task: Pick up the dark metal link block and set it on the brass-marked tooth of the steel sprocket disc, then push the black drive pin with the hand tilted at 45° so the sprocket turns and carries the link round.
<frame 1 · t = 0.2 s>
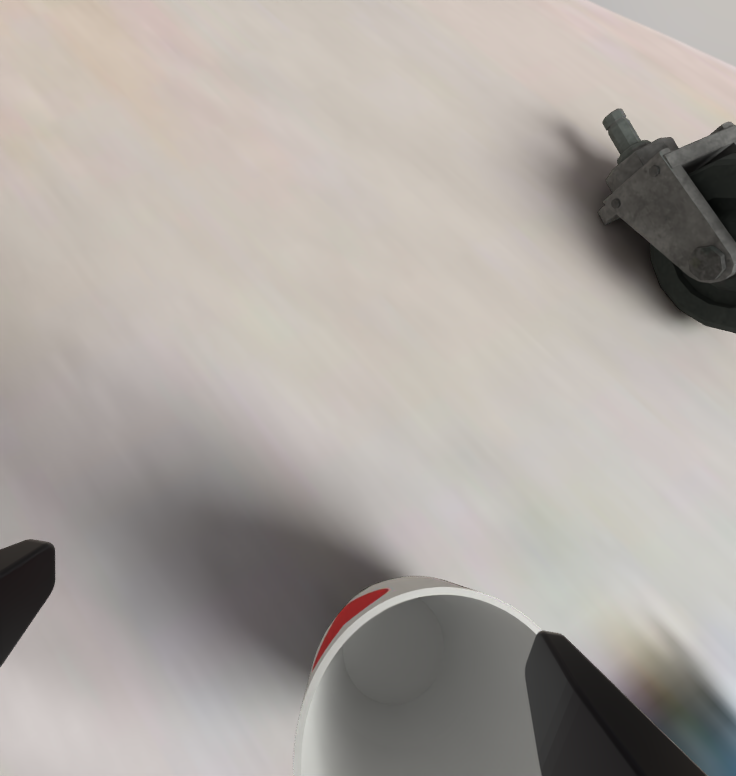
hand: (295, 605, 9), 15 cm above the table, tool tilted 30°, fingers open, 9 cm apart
cup: (393, 645, 22), on the table
caster wheel: (649, 245, 29), on the table
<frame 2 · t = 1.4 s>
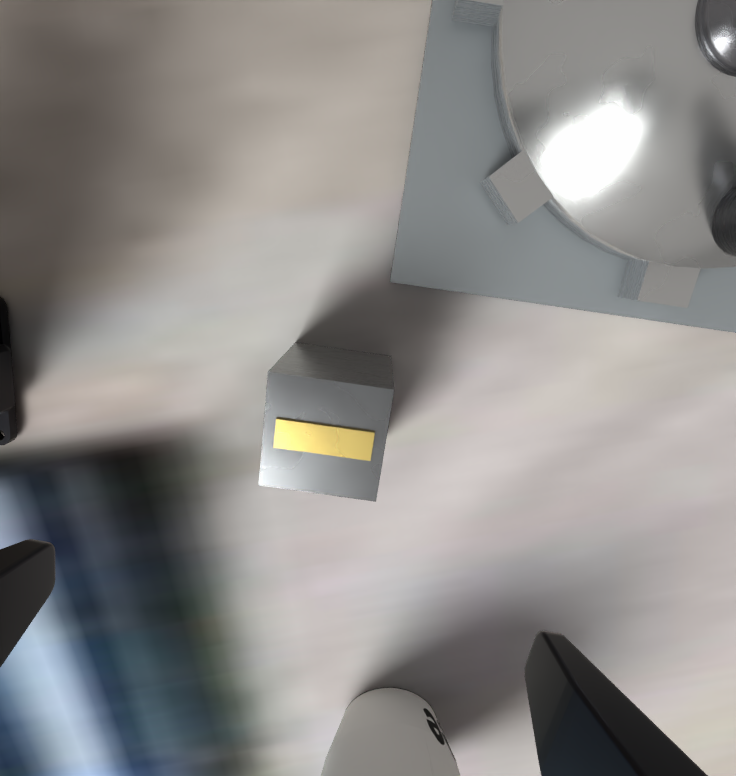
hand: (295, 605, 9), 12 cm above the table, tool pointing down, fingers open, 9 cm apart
cup: (388, 720, 25), on the table
link block: (337, 394, 20), on the table
base plate: (705, 41, 16), on the table
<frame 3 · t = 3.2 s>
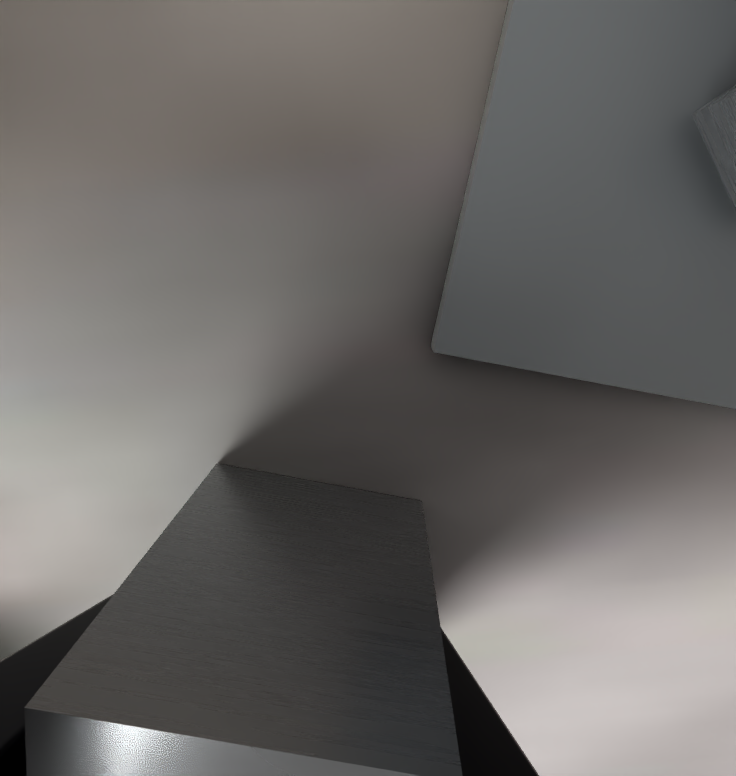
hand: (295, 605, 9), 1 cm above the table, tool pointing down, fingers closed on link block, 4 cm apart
link block: (304, 568, 10), on the table, touching gripper
when the fingers open (5 cm above the table, at t = 6.8 s): link block drops 1 cm, resting on sprocket.
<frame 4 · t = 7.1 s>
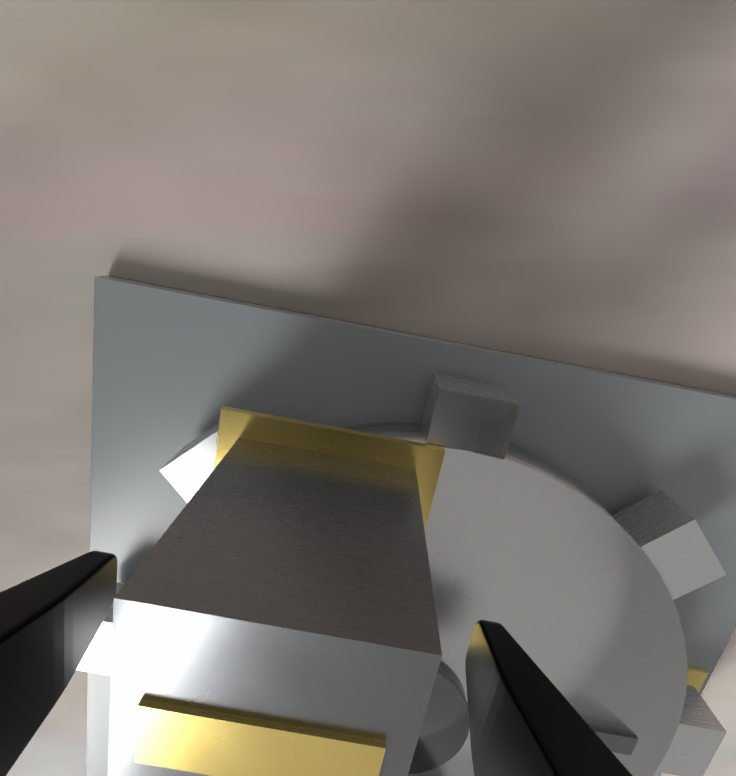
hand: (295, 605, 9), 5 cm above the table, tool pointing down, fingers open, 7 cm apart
link block: (314, 530, 11), point 2 cm above the table, touching sprocket
base plate: (396, 635, 15), on the table
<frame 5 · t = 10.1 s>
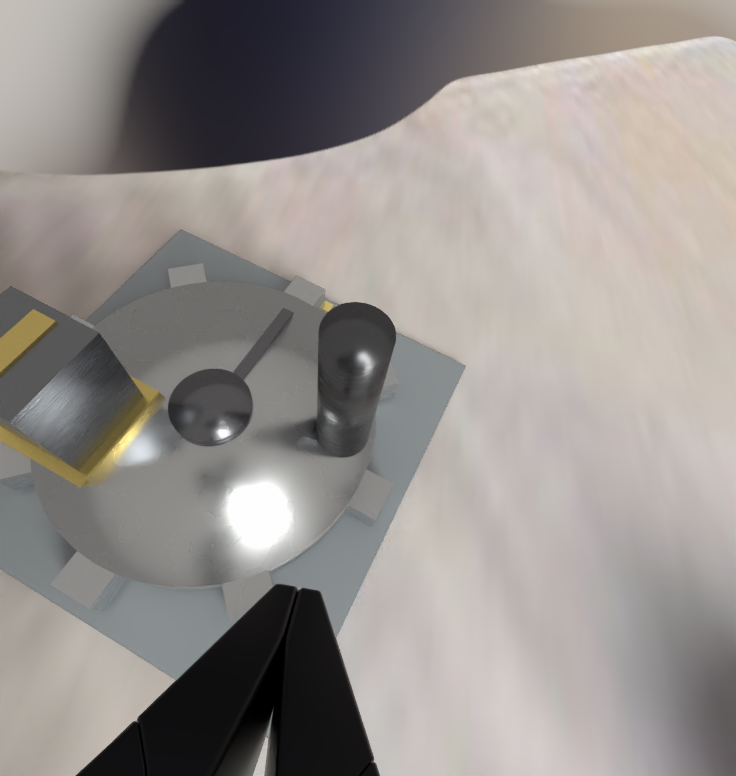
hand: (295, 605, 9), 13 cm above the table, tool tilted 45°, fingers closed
link block: (75, 411, 20), point 2 cm above the table, touching sprocket
sprocket: (197, 374, 18), point 6 cm above the table, hinge at 0.0°, touching link block
base plate: (221, 429, 23), on the table
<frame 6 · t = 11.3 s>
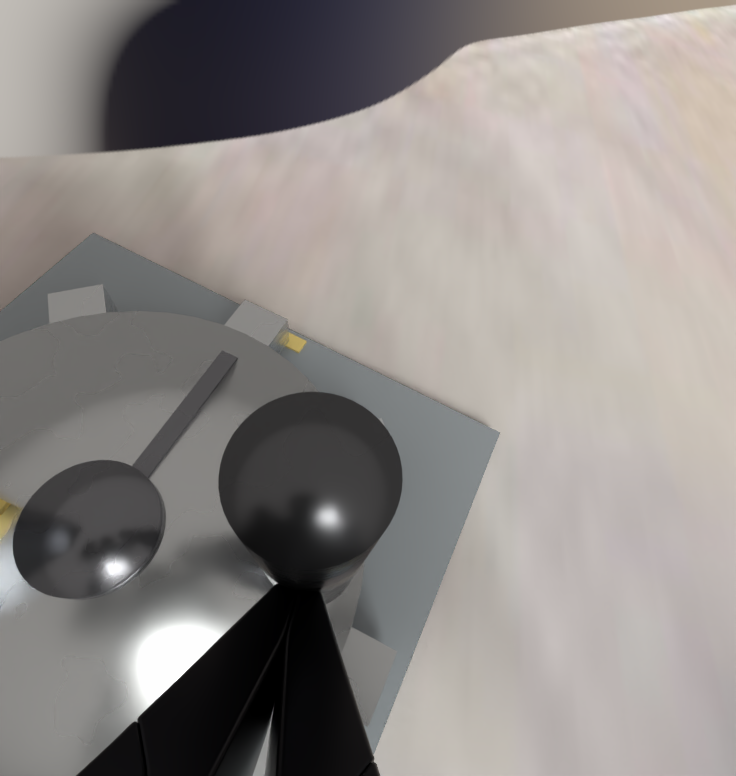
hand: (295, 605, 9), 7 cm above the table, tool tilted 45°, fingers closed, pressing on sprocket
sprocket: (37, 498, 10), point 6 cm above the table, hinge at 1.3°, touching gripper, link block
base plate: (126, 543, 15), on the table
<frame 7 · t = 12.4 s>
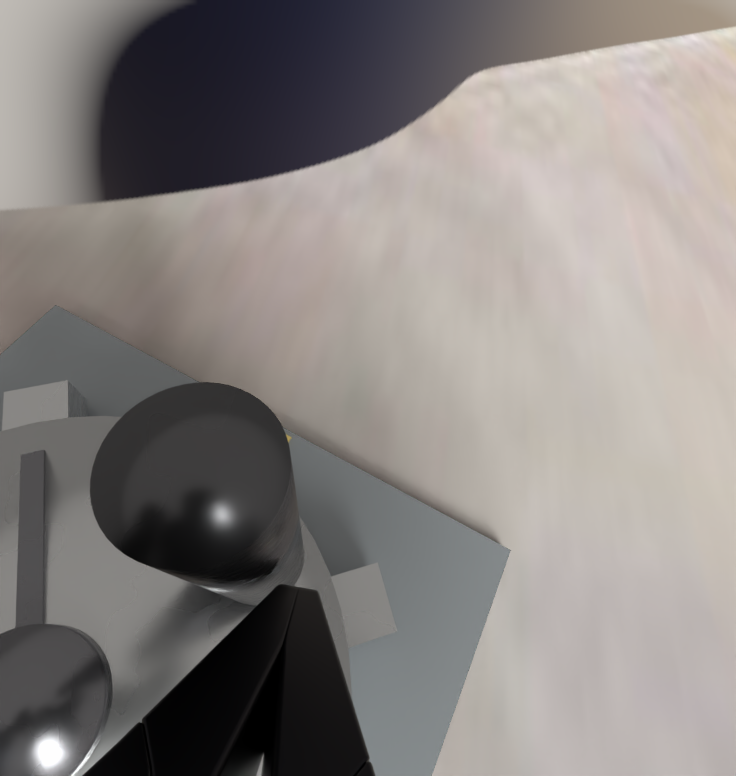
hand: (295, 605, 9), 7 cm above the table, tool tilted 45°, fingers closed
base plate: (74, 698, 13), on the table
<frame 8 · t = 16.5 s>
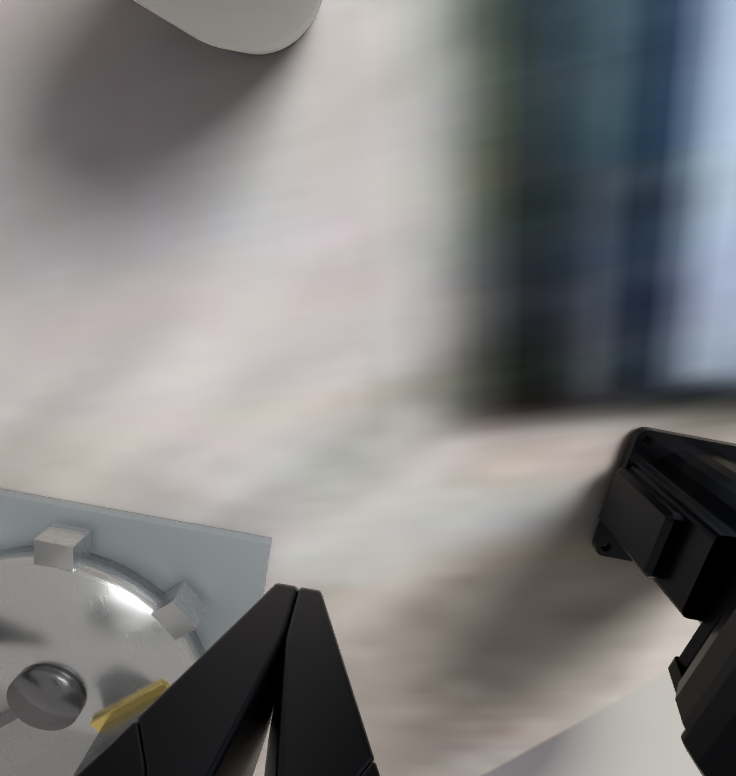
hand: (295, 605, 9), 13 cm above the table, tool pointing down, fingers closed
link block: (158, 735, 24), point 2 cm above the table, touching sprocket
sprocket: (0, 759, 20), point 6 cm above the table, hinge at 44.2°, touching link block
base plate: (79, 654, 26), on the table
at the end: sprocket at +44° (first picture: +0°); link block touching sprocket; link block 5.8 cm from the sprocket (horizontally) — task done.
